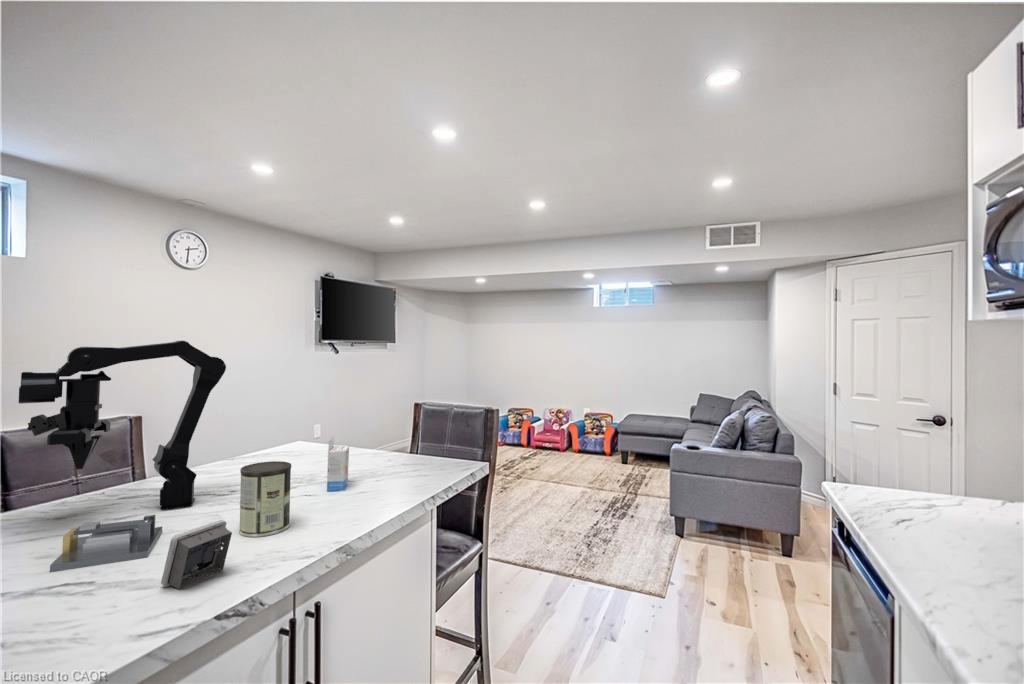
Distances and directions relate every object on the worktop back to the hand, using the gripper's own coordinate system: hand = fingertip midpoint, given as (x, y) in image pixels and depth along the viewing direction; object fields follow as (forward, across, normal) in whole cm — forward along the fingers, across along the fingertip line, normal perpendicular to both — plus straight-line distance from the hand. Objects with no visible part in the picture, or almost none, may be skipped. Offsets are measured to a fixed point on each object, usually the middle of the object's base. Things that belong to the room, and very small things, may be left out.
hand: (80, 468), depth 106 cm
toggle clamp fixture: (+12, +21, +11) cm, 27 cm away
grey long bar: (+9, +21, +11) cm, 25 cm away
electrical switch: (+13, +42, +28) cm, 52 cm away
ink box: (+13, -6, +57) cm, 59 cm away
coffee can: (+13, +21, +38) cm, 45 cm away
